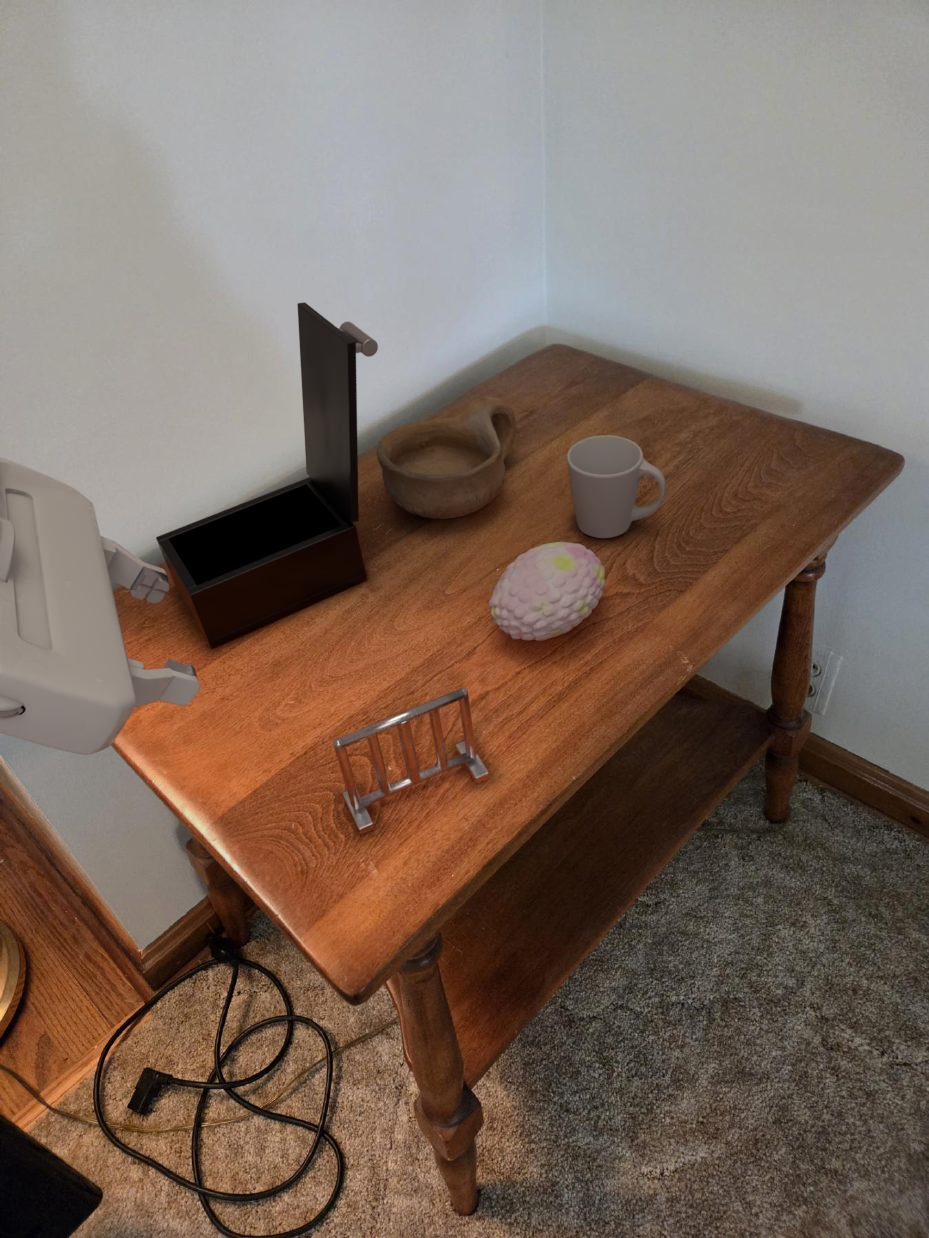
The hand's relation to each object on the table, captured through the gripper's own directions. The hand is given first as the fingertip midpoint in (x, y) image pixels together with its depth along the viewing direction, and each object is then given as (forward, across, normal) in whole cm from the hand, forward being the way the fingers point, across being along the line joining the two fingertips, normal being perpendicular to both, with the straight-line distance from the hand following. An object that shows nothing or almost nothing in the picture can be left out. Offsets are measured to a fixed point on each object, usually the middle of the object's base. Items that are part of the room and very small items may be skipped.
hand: (177, 634), depth 53 cm
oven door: (+18, +34, -7) cm, 39 cm away
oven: (+23, +32, +11) cm, 41 cm away
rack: (+26, +1, +8) cm, 27 cm away
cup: (+48, +24, -14) cm, 55 cm away
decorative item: (+39, +14, -4) cm, 42 cm away
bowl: (+40, +38, -5) cm, 55 cm away
